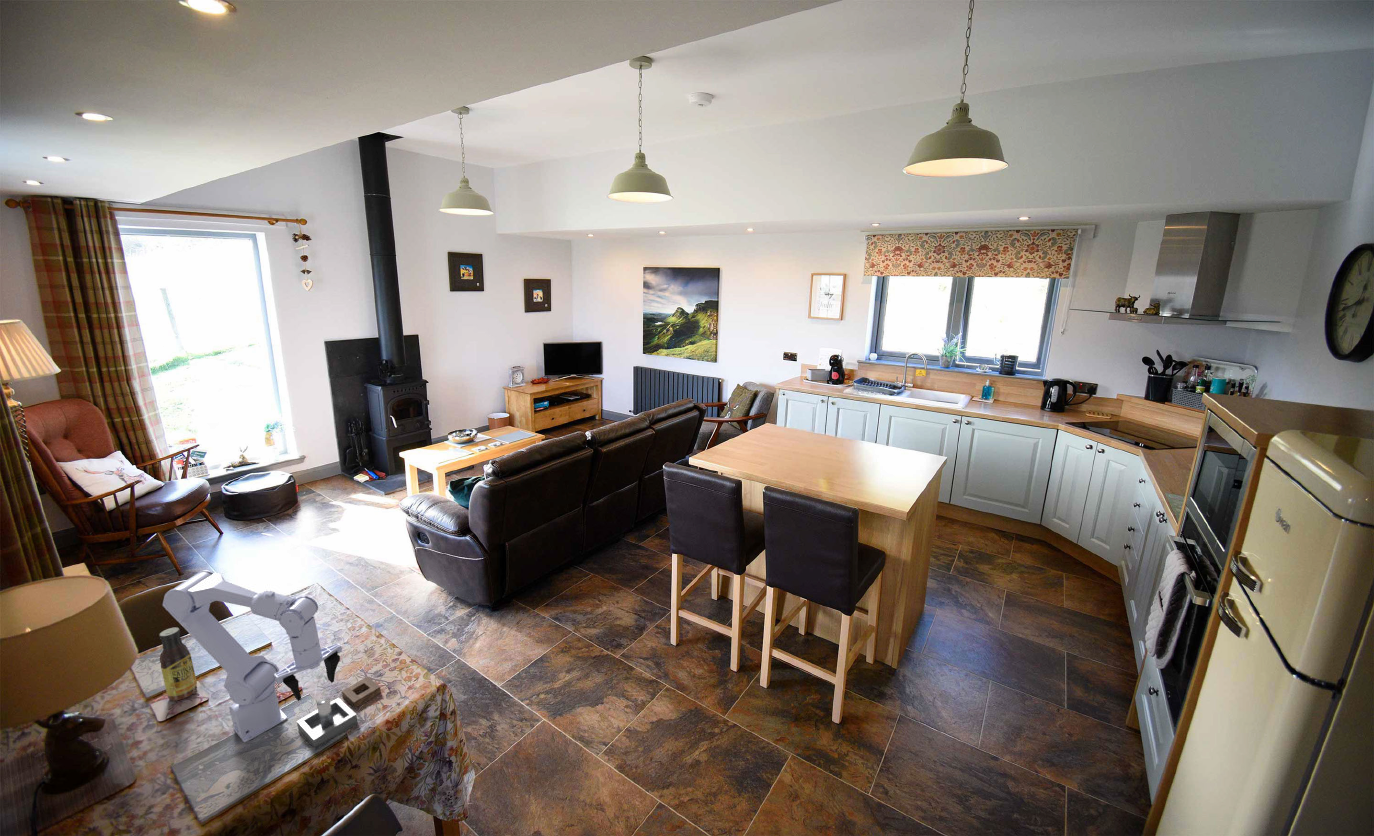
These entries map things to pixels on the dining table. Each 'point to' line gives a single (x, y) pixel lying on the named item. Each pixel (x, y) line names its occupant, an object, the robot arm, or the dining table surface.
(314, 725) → the tray
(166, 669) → the sauce bottle
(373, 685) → the frame
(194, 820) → the dining table surface
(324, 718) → the pin
